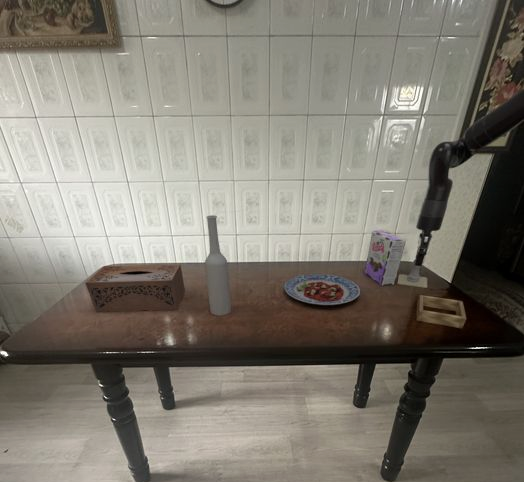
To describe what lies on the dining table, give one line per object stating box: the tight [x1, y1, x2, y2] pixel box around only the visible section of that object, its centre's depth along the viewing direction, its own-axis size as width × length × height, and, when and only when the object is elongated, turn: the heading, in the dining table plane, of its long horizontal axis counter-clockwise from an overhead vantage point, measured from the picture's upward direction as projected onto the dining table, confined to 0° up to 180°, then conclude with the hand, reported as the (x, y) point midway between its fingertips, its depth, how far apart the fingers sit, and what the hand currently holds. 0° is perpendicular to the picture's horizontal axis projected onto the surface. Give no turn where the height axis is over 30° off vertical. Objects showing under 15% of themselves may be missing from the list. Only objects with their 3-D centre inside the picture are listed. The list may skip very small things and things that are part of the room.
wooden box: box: [415, 294, 467, 329], centre depth 91 cm, size 12×12×3 cm
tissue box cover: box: [85, 263, 186, 313], centre depth 99 cm, size 26×14×10 cm, turn 92°
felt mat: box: [397, 273, 428, 289], centre depth 114 cm, size 10×10×1 cm
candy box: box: [363, 229, 407, 286], centre depth 111 cm, size 14×6×16 cm, turn 10°
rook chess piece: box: [407, 257, 422, 282], centre depth 111 cm, size 4×4×8 cm
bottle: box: [204, 214, 232, 316], centre depth 88 cm, size 7×7×28 cm
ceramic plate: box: [284, 273, 361, 306], centre depth 105 cm, size 26×26×3 cm
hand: (418, 262), depth 109 cm, fingers open, 8 cm apart
